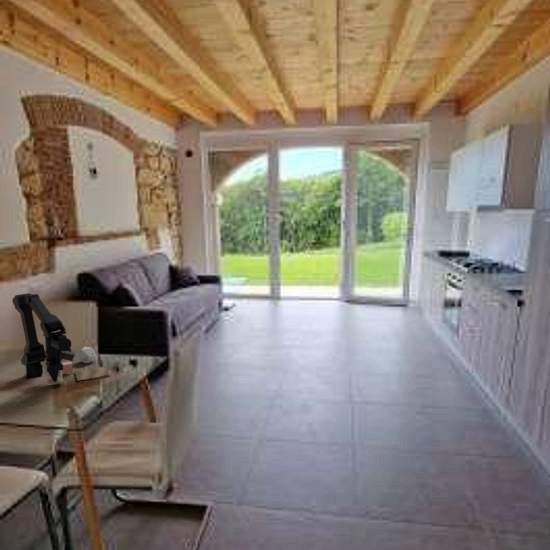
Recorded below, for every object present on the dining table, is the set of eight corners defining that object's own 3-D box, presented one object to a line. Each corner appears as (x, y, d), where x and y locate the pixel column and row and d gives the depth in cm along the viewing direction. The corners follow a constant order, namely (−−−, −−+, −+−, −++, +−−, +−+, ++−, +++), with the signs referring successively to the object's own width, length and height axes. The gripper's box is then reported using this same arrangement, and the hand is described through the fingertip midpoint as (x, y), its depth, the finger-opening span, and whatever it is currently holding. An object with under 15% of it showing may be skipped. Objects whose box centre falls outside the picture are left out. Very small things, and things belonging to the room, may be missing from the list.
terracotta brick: (58, 375, 197) (57, 365, 196) (58, 373, 201) (57, 363, 200) (72, 373, 200) (71, 363, 200) (71, 370, 204) (71, 361, 203)
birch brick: (47, 385, 183) (47, 374, 183) (47, 381, 187) (46, 371, 186) (62, 382, 186) (62, 371, 186) (62, 379, 190) (61, 368, 189)
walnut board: (77, 381, 191) (77, 380, 190) (74, 373, 201) (74, 371, 201) (109, 376, 198) (109, 374, 198) (105, 368, 208) (105, 366, 208)
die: (78, 367, 210) (90, 353, 209) (70, 356, 213) (81, 341, 213) (91, 368, 217) (102, 354, 216) (83, 357, 221) (94, 343, 220)
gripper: (74, 350, 180) (76, 383, 183) (71, 338, 196) (72, 369, 198) (45, 354, 175) (48, 389, 177) (44, 341, 190) (46, 373, 193)
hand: (54, 379), depth 186 cm, fingers closed on birch brick, 4 cm apart
